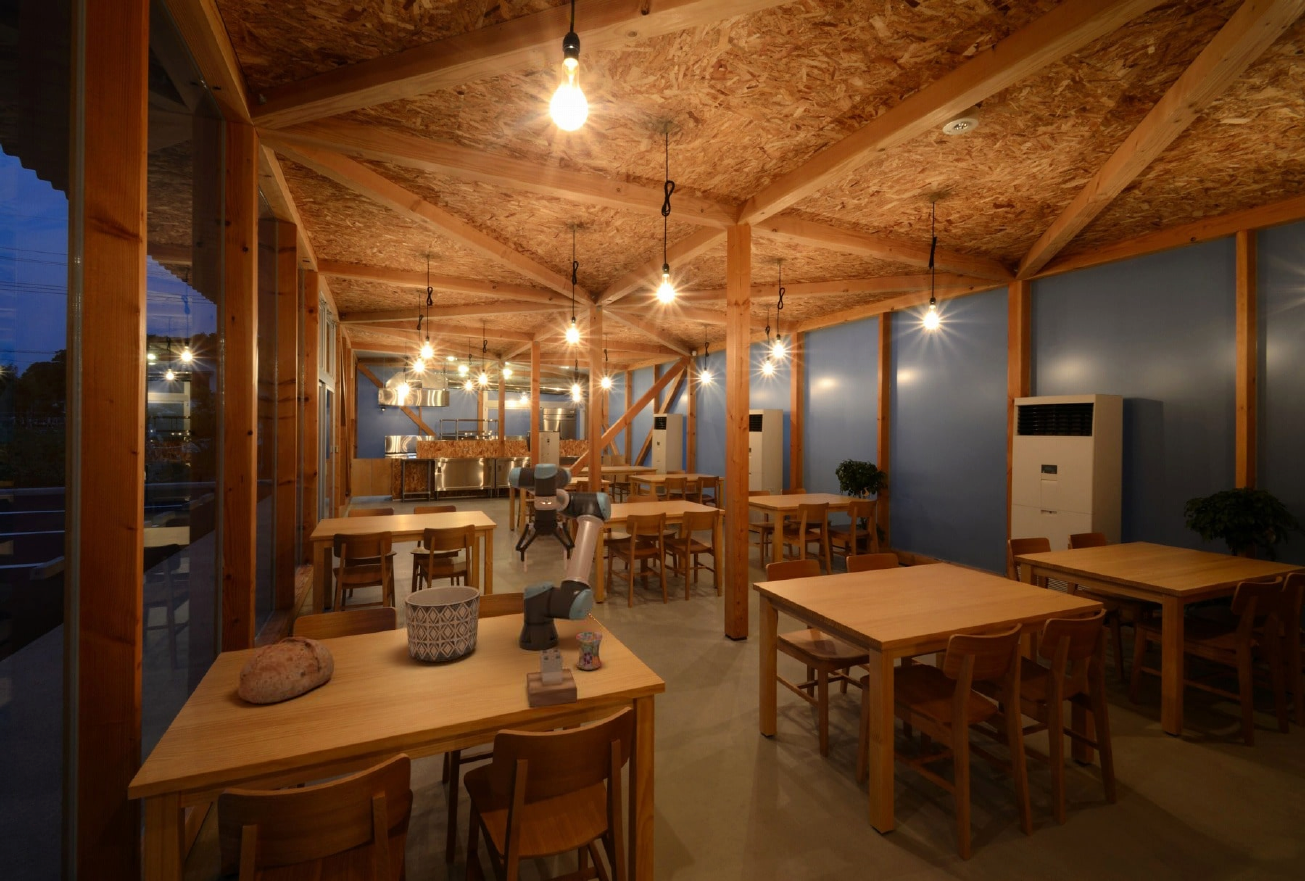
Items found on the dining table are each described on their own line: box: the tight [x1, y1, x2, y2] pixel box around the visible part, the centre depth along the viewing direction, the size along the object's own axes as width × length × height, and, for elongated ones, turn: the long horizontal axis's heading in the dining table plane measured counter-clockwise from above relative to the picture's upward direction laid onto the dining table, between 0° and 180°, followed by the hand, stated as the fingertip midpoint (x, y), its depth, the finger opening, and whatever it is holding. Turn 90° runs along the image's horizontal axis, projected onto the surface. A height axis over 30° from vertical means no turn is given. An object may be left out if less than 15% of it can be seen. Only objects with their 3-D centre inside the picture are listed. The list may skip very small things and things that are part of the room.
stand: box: [526, 668, 578, 709], centre depth 174 cm, size 15×14×4 cm
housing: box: [539, 648, 563, 686], centre depth 174 cm, size 8×6×8 cm
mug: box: [575, 631, 603, 671], centre depth 196 cm, size 12×9×11 cm
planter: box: [404, 585, 481, 663], centre depth 205 cm, size 26×26×22 cm
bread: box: [237, 636, 335, 704], centre depth 178 cm, size 26×23×15 cm
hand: (545, 569), depth 191 cm, fingers open, 13 cm apart
